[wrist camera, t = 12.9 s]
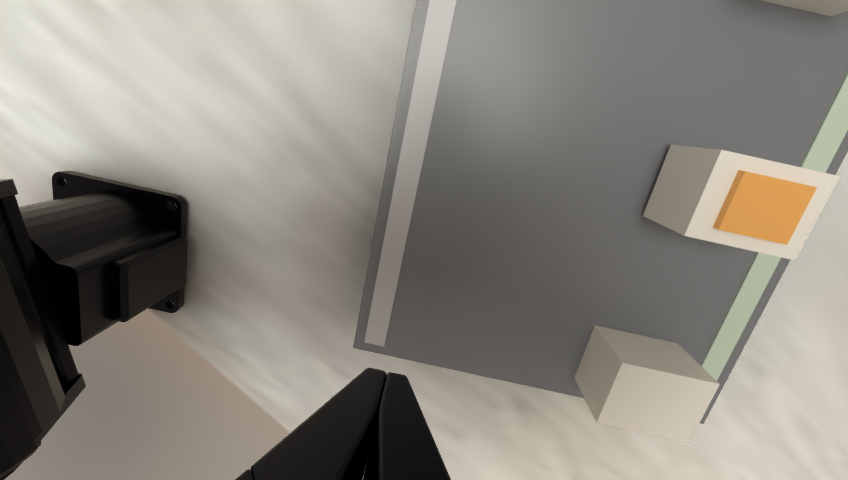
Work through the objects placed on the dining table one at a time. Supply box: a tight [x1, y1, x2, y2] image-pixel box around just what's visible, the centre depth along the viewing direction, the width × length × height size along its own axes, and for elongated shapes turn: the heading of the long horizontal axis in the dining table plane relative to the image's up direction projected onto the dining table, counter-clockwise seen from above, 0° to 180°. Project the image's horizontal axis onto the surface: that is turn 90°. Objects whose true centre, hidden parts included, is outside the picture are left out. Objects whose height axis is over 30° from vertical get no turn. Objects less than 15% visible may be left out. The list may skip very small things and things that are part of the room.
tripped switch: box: [643, 144, 840, 260], centre depth 14 cm, size 4×3×3 cm
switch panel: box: [353, 0, 848, 443], centre depth 16 cm, size 18×22×5 cm
